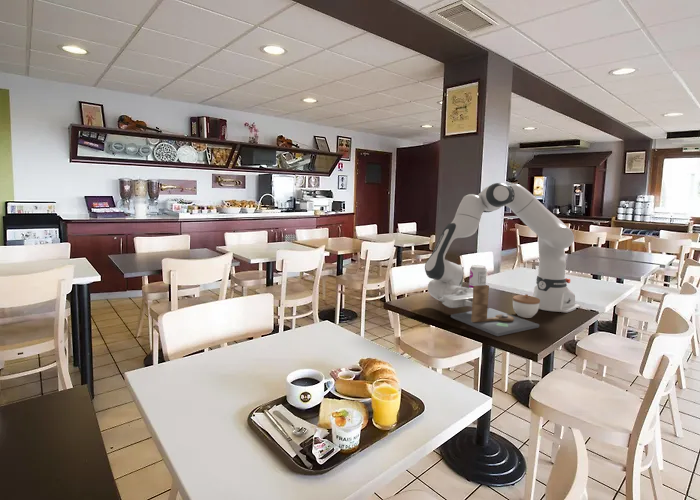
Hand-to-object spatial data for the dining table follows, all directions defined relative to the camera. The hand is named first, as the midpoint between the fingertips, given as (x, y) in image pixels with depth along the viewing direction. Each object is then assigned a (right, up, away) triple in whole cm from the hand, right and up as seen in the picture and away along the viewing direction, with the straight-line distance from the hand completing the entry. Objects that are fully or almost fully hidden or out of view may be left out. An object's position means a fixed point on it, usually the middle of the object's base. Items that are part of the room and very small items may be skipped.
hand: (478, 305), depth 162 cm
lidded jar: (+24, -7, +13) cm, 28 cm away
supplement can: (+14, -1, +47) cm, 49 cm away
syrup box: (+4, -1, +52) cm, 52 cm away
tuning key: (+6, -6, +2) cm, 9 cm away
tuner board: (+7, -8, +4) cm, 11 cm away
